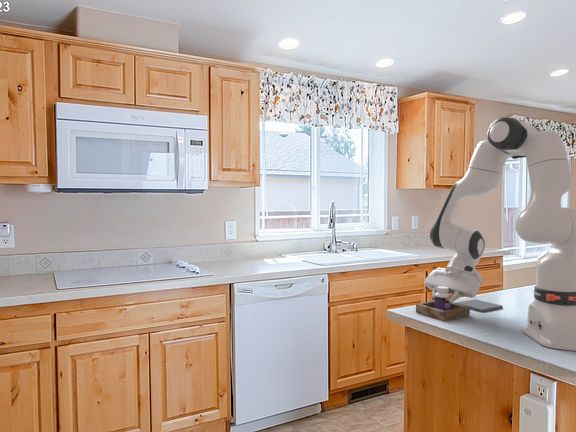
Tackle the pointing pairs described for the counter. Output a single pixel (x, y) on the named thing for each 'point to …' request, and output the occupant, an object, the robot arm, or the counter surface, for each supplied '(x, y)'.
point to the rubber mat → (479, 305)
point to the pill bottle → (442, 298)
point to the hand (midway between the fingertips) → (441, 300)
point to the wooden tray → (453, 313)
